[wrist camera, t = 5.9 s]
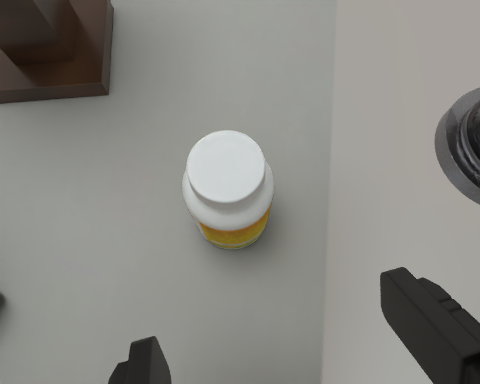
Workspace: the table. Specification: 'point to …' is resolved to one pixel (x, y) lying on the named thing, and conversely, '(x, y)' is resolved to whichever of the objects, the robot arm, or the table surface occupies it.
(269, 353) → the table surface
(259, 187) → the supplement bottle
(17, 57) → the pedestal column
